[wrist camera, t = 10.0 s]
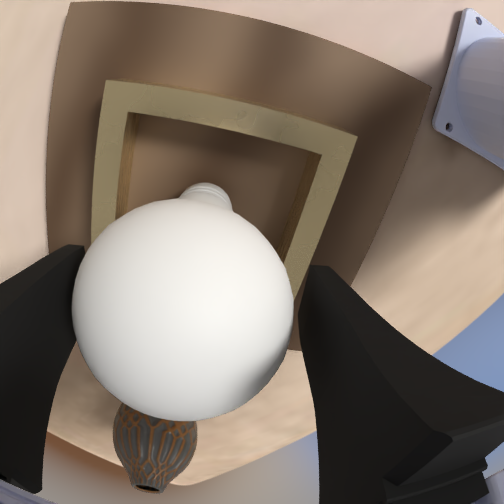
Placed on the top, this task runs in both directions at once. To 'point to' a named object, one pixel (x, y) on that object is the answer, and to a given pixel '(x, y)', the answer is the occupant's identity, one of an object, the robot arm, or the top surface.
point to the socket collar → (231, 118)
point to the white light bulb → (183, 307)
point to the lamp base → (222, 140)
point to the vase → (152, 447)
